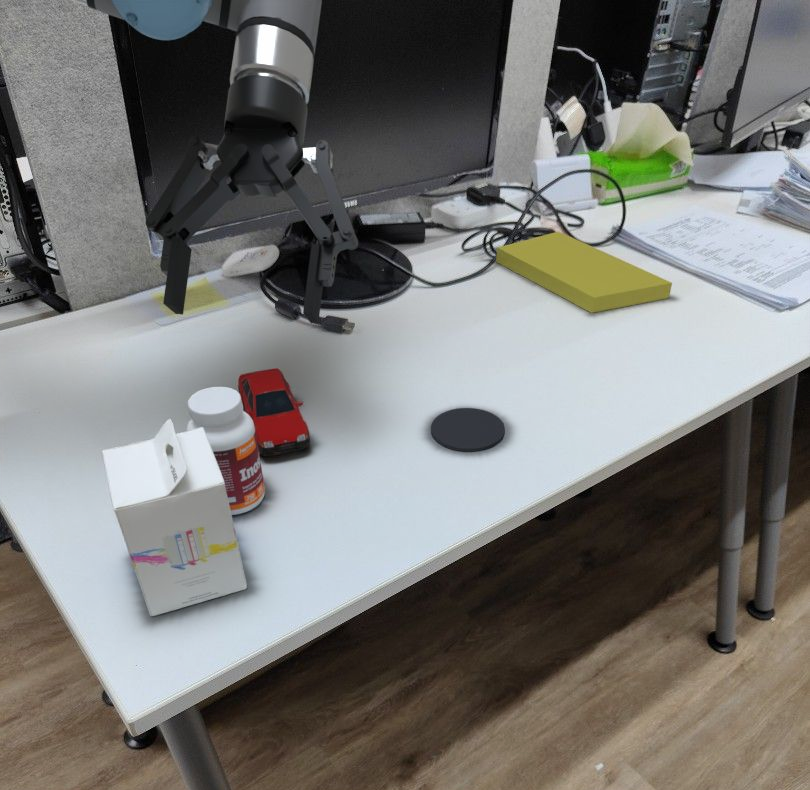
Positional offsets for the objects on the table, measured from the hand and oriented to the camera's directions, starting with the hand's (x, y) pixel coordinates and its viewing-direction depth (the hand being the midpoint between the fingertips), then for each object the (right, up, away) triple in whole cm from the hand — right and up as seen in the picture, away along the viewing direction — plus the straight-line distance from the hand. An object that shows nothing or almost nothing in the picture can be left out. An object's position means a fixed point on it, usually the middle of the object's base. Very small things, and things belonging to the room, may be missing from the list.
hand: (241, 314), depth 72 cm
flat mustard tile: (+41, +17, +41) cm, 60 cm away
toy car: (+1, -9, +13) cm, 15 cm away
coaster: (+22, -9, +11) cm, 27 cm away
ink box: (-3, -24, -5) cm, 25 cm away
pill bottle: (-1, -17, +3) cm, 18 cm away
